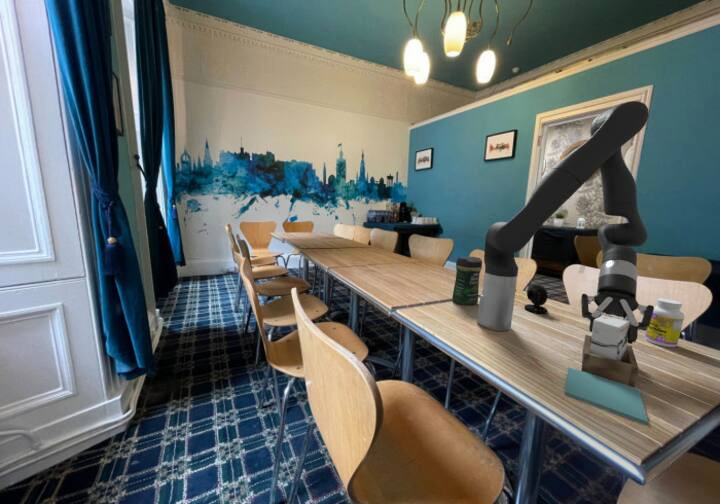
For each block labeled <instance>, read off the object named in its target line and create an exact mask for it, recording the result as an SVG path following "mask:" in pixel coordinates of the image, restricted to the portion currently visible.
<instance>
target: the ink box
mask: <svg viewBox="0 0 720 504" xmlns="http://www.w3.org/2000/svg"><path fill="white" fill-rule="evenodd" d="M629 324H630V321H628V320H624V319H623V318H622V317H618V316H615V315H608V314H603V315H602V316H601V317H599V318H596V319H594V322H593V329H592V332H591V336H592V338H591V346H590V353H592V354H595V355H599V356H603V357H606V358H610V359H613V360H617V361H621V362H624V361H625V353H626V346H627V345H628V343H627V340H628V331H629Z"/></svg>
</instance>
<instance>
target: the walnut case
mask: <svg viewBox="0 0 720 504" xmlns="http://www.w3.org/2000/svg"><path fill="white" fill-rule="evenodd" d="M591 338H592V335H589V334H585V336H584V340H583V341H584V342H583V347H582V358H581V371H583V372H586V373H589V374H592V375H595V376H599V377H602V378H605V379H608V380H611V381H614V382H618V383H621V384H624V385H627V386H630V387H634V388H636V387H635V386H636V382H637V377H638V372H639V365H638V362H637V359H636V355H635V352H634V349H633V346H632V345H629V344H627V346H626V353H625V361H624V362H621V361H617V360H613V359H610V358H606V357H603V356H599V355H595V354H592V353H590V346H591Z"/></svg>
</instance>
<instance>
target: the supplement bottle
mask: <svg viewBox="0 0 720 504" xmlns="http://www.w3.org/2000/svg"><path fill="white" fill-rule="evenodd" d="M656 303H657V305H656V306H653V307H654V311H653V314H652V318H651V321H650V325H649V326H648V328H647V330H646V331H645V333H644V339H645V340H646V341H647V342H650V343H652V344H654V345H657V346H660V347H664V348H665V347H666V348H676V347H677V346H678V344H679V339H680V336H681V331H682V327H683V324H684V321H685V313H684V312H682V311H680V309H681V308H682V305H683V304H682V302H681V301H677V300H674V299H668V298H661V297H660V298H657V301H656Z"/></svg>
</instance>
